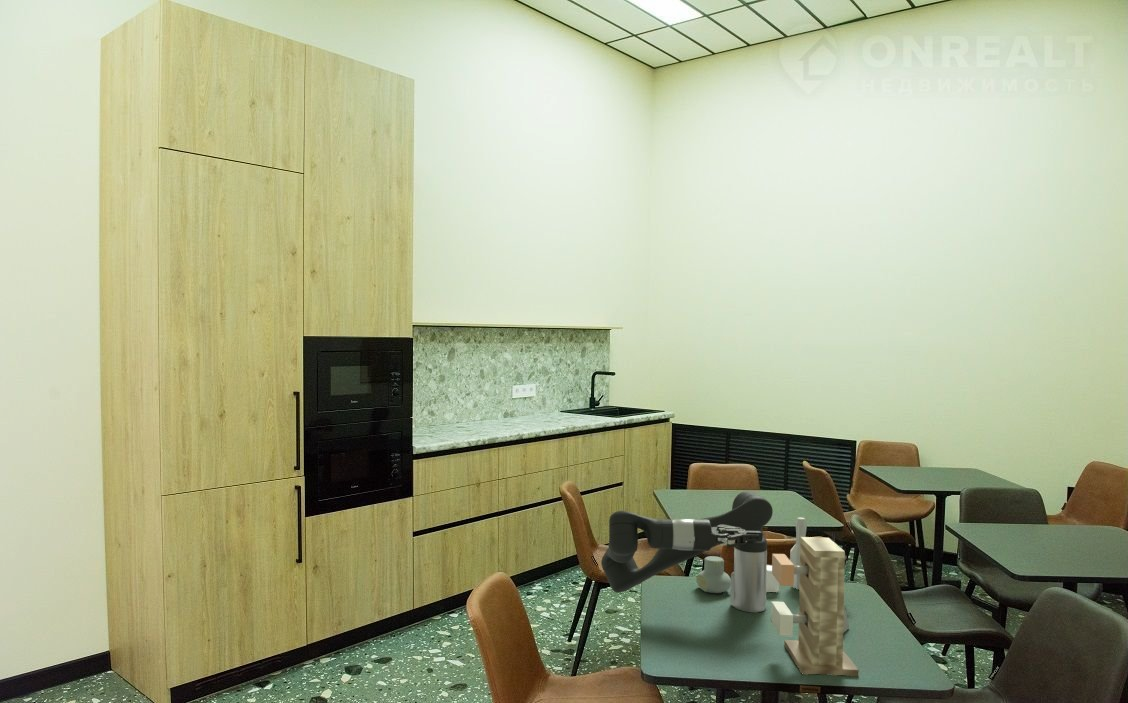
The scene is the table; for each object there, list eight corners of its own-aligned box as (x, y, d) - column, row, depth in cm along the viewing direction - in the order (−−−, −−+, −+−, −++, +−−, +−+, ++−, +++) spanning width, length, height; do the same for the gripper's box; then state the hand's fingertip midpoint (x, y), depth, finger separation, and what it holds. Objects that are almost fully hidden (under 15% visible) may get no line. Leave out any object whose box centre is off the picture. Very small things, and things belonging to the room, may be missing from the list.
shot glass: (768, 594, 224) (768, 572, 224) (753, 588, 230) (753, 565, 230) (785, 591, 227) (785, 569, 227) (769, 584, 234) (769, 563, 233)
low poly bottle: (786, 584, 234) (787, 515, 234) (805, 583, 235) (806, 515, 235) (794, 591, 228) (795, 520, 228) (813, 590, 229) (815, 520, 228)
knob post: (836, 647, 186) (838, 535, 186) (858, 676, 170) (860, 554, 170) (784, 645, 187) (786, 534, 186) (801, 674, 171) (804, 552, 170)
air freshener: (693, 586, 231) (693, 554, 231) (716, 583, 234) (717, 552, 234) (710, 597, 221) (711, 565, 221) (734, 595, 224) (735, 562, 223)
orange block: (804, 574, 183) (805, 554, 183) (815, 586, 174) (815, 565, 174) (771, 573, 183) (772, 553, 183) (780, 585, 174) (781, 564, 174)
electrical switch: (838, 639, 191) (835, 603, 192) (818, 635, 195) (816, 600, 195) (850, 628, 199) (847, 594, 199) (830, 625, 202) (828, 591, 202)
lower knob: (803, 622, 183) (804, 602, 183) (814, 636, 174) (814, 615, 174) (771, 621, 183) (771, 601, 183) (779, 635, 174) (780, 614, 174)
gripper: (687, 542, 186) (755, 544, 185) (693, 557, 173) (767, 559, 172) (687, 512, 186) (756, 514, 185) (694, 526, 173) (768, 528, 172)
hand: (761, 536), depth 179 cm, fingers closed
